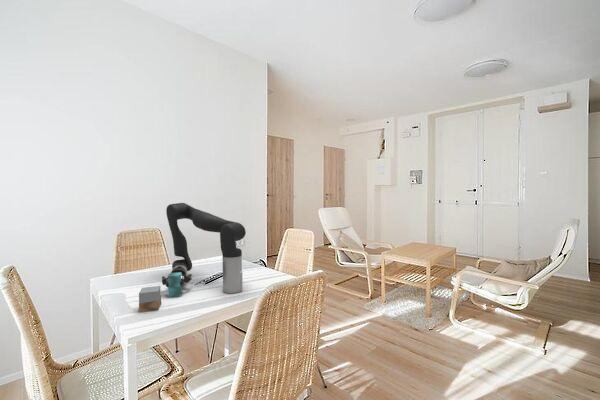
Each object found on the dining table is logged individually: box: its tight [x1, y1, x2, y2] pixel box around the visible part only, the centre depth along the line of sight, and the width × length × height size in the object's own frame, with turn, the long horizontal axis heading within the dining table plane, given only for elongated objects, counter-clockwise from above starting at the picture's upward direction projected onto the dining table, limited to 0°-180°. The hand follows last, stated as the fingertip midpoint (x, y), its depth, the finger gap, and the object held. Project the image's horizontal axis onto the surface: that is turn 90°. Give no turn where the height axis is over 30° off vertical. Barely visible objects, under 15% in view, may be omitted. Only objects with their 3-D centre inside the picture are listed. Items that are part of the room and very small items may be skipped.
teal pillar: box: [167, 272, 183, 299], centre depth 129 cm, size 5×5×10 cm
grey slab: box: [138, 285, 162, 304], centre depth 115 cm, size 7×7×4 cm
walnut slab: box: [138, 295, 162, 314], centre depth 115 cm, size 7×7×4 cm
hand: (174, 284), depth 127 cm, fingers closed on teal pillar, 5 cm apart
